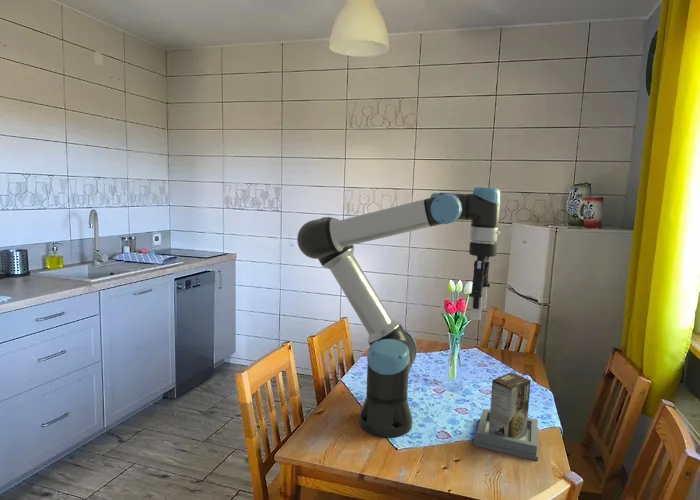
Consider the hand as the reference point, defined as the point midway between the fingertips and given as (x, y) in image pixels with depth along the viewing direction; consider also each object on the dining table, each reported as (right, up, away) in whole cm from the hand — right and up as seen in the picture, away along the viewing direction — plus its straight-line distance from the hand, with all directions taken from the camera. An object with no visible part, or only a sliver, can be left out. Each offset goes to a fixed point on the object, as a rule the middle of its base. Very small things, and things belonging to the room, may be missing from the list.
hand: (478, 313), depth 137 cm
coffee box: (+6, -33, -8) cm, 34 cm away
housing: (+6, -33, -8) cm, 35 cm away
